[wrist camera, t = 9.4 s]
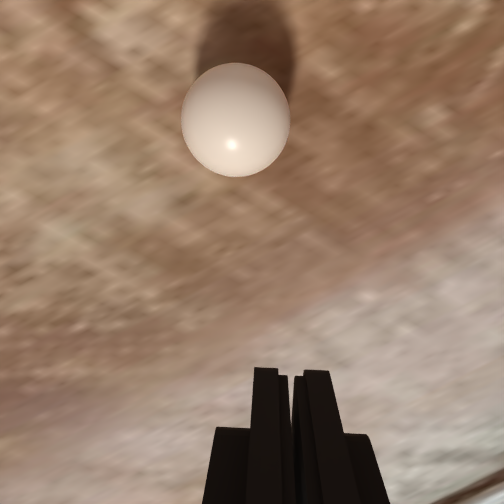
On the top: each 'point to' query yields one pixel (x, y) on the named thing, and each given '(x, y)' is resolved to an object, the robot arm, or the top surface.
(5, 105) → the top surface
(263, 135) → the cue ball
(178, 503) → the top surface
